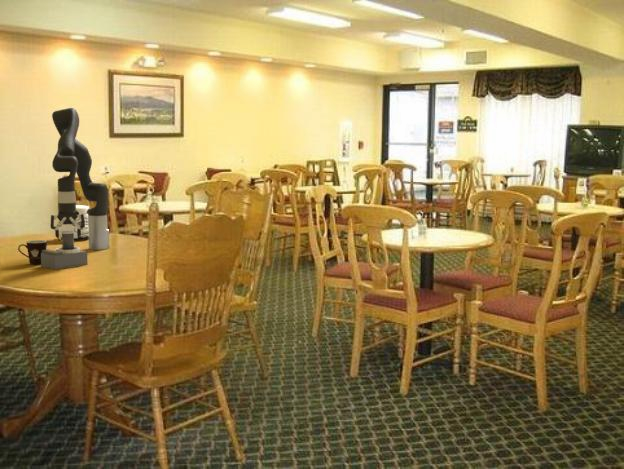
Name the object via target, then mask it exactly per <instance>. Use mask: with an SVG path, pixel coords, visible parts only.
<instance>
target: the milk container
mask: <svg viewBox="0 0 624 469" xmlns="http://www.w3.org/2000/svg"><path fill="white" fill-rule="evenodd" d="M89 209H90V206H88V205H82V204H81V205H77V204H76V214H77V215H80V214H83V215H84V223H85V227H84V228H81V236H79V238H78V237H77V229H78V228H77V227H76V226H75V225H74V223H73V224H66V225H64V224H62V225H61V226H60V227H59V229H58V230H59V238H60V239H61V240H62V233H61V232H62V231H74V241H81V240H88V239H89V230H88V210H89ZM75 221H76V222H77V224H78V225H79V226H80V225H81V219H79V217H77V219H76V220H75Z"/></svg>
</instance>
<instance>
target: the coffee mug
mask: <svg viewBox="0 0 624 469" xmlns="http://www.w3.org/2000/svg"><path fill="white" fill-rule="evenodd" d="M47 243H48V241H47V240H44V239H43V240H42V239H41V240H40V239H35V240H33V239H32V240H27V241H26V244H24V243H23V244H19V246H18V247H17V251H18V252H19V253H20V254H21V255H22V256H25V257H26V258H28V261H29V265H31V266H41V253H42V250H47V247H48V244H47ZM23 246H24V248H26V250H27V254H28V255H27V254H25V253H24V252H23V251H21V249H20V248H21V247H23Z"/></svg>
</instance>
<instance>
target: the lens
mask: <svg viewBox="0 0 624 469" xmlns="http://www.w3.org/2000/svg"><path fill="white" fill-rule="evenodd" d="M61 233H62V239H61V247H62V250H73V249H74V247H75V240H74V231H62V232H61Z"/></svg>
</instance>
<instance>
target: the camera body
mask: <svg viewBox="0 0 624 469" xmlns="http://www.w3.org/2000/svg"><path fill="white" fill-rule="evenodd" d="M87 265H88V251H86V250H83V249H82V250H81V247H80V246H74V249H73V250H62V246H60V247H57V248H55V250H54V249H47V248H46V250H42V253H41V265H40V266H41V267H42V268H47V269H50V270H62V269H68V268H69V269H71V268H74V267H75V268H77V267H81V266H87Z"/></svg>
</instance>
